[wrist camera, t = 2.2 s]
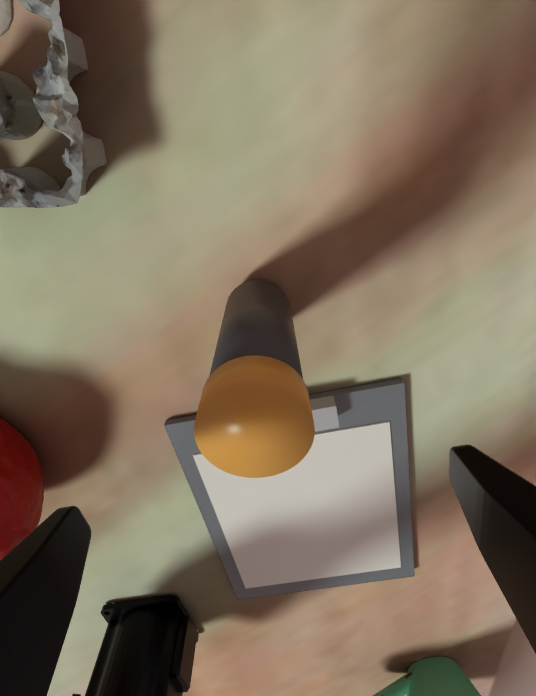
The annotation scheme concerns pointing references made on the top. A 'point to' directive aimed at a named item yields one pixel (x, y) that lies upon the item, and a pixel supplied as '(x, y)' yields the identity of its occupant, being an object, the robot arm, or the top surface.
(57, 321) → the top surface
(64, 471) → the top surface
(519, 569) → the robot arm
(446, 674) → the mug
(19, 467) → the pomegranate
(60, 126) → the egg carton
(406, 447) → the whiteboard
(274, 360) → the marker
